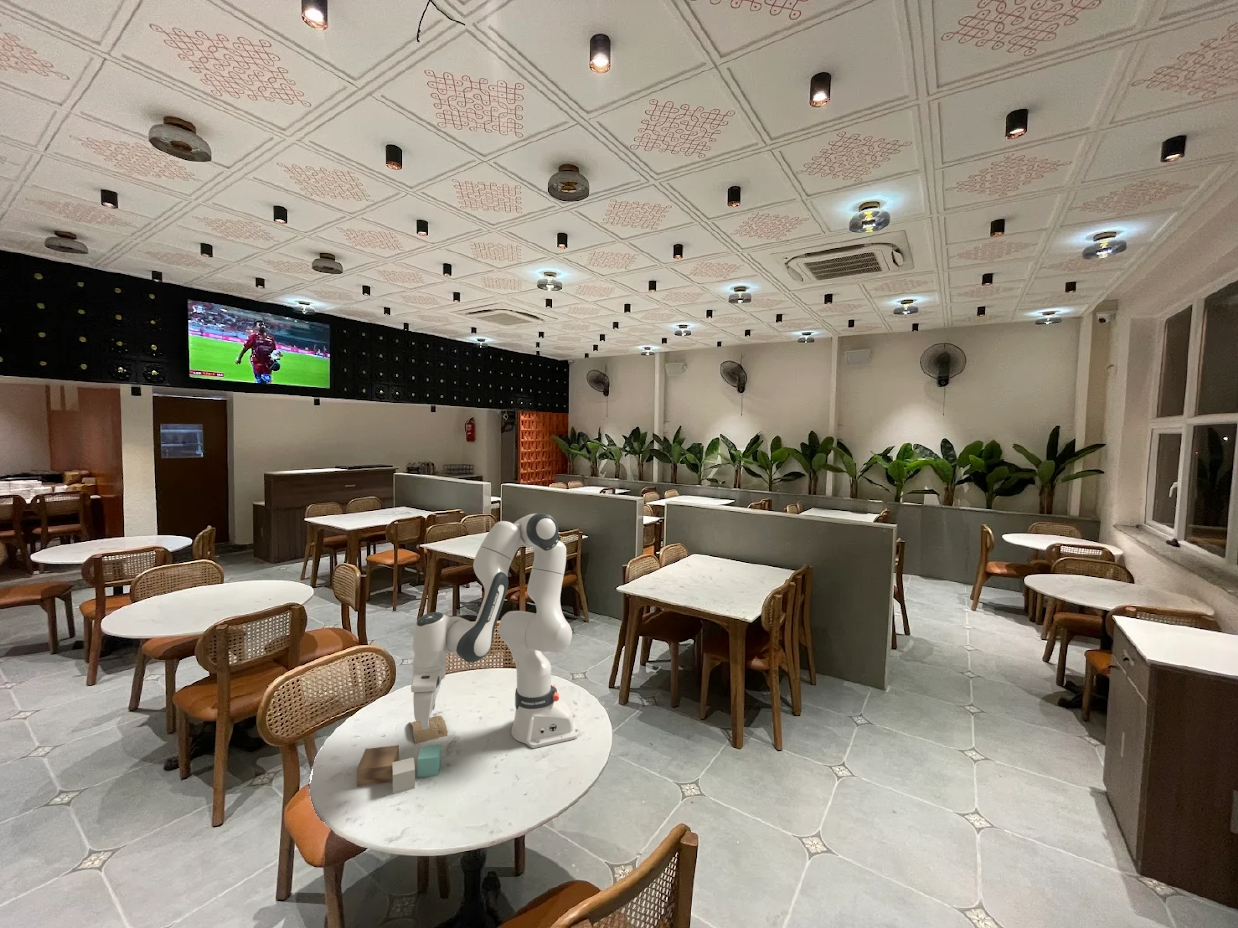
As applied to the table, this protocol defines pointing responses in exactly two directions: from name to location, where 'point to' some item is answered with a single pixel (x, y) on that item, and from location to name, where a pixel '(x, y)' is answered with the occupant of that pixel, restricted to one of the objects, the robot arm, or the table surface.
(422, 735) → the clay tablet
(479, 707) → the table surface
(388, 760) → the walnut base
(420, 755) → the teal cube
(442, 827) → the table surface
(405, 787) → the grey cube
